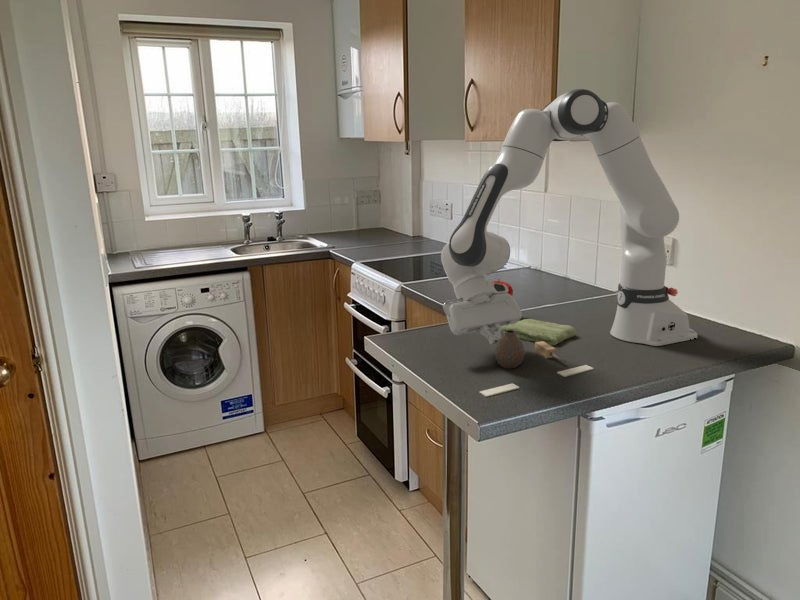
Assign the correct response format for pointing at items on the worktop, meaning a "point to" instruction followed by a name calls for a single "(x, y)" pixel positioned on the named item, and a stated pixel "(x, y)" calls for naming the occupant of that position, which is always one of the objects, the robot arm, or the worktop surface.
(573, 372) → the beige flat strips
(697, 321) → the worktop surface
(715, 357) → the worktop surface
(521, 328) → the washcloth
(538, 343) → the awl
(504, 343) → the vase
